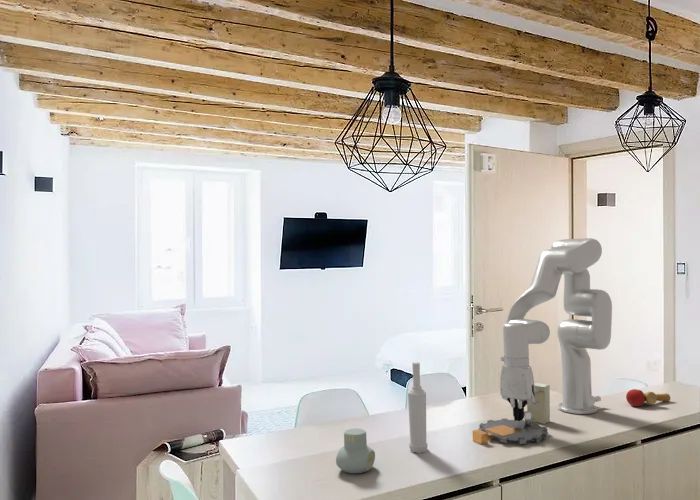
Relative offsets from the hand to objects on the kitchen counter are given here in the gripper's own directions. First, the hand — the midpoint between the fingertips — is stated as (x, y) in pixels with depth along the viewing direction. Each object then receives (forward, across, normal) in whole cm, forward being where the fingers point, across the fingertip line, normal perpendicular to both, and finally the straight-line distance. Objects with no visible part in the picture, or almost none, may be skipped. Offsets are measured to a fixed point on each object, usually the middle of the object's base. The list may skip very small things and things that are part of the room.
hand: (518, 419), depth 175 cm
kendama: (+4, +23, +55) cm, 59 cm away
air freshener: (+3, -18, -57) cm, 60 cm away
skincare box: (+3, +1, +12) cm, 12 cm away
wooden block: (+3, -1, -11) cm, 12 cm away
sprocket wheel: (+3, +1, -7) cm, 7 cm away
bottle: (+3, -14, -35) cm, 38 cm away
